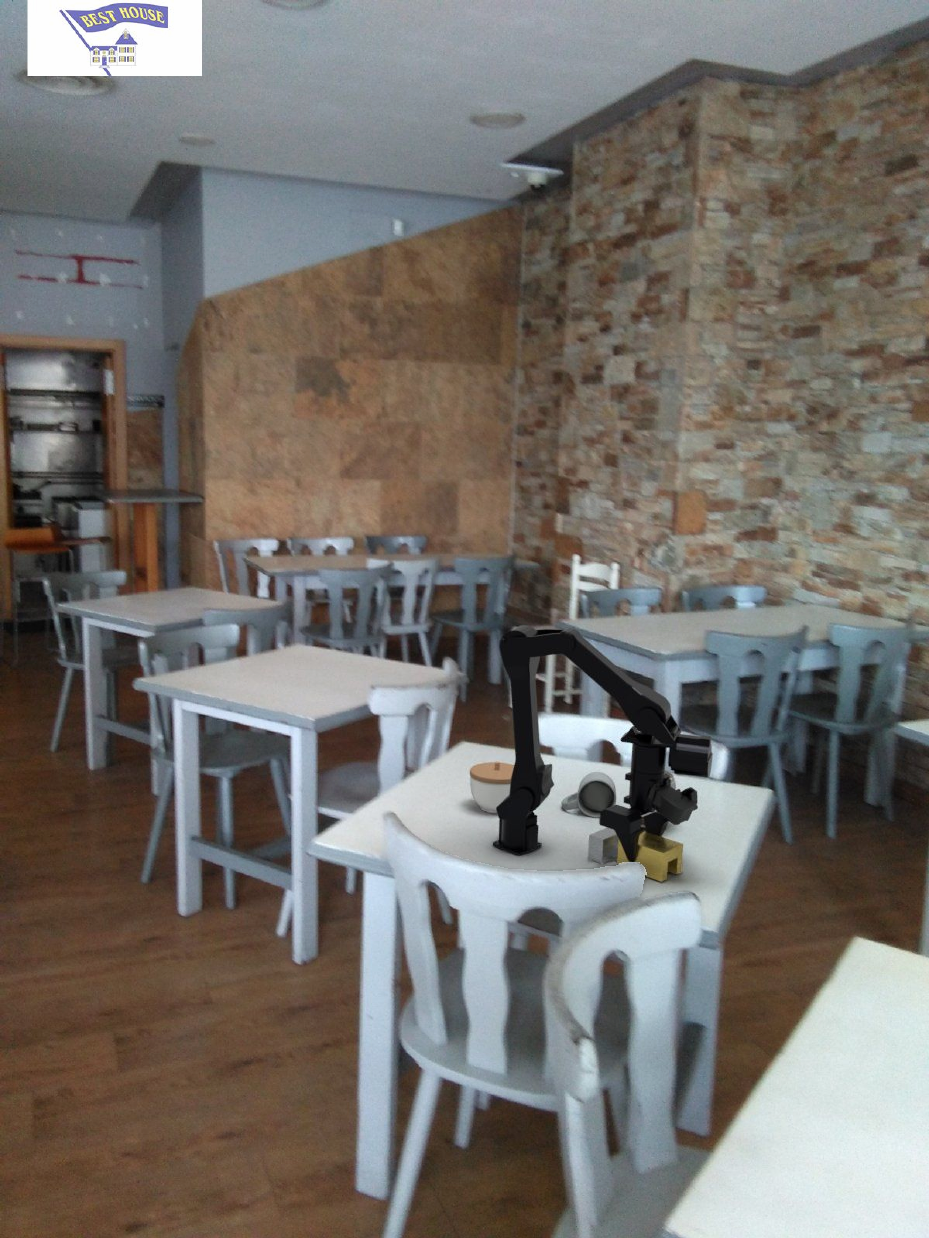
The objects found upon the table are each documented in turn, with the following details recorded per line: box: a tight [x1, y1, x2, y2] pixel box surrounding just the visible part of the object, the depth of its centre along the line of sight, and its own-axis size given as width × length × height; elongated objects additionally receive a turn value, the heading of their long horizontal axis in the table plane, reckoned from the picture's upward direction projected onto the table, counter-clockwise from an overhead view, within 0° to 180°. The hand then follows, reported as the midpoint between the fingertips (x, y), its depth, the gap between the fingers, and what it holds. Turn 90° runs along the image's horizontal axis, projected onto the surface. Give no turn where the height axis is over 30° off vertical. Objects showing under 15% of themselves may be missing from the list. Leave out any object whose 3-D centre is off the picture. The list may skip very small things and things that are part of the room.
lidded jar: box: [469, 761, 514, 814], centre depth 206 cm, size 11×11×9 cm
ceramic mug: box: [560, 771, 617, 819], centre depth 207 cm, size 11×8×8 cm
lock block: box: [616, 831, 684, 883], centre depth 178 cm, size 9×6×5 cm, turn 46°
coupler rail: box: [587, 827, 619, 865], centre depth 182 cm, size 10×8×4 cm
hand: (642, 856), depth 179 cm, fingers closed on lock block, 6 cm apart
